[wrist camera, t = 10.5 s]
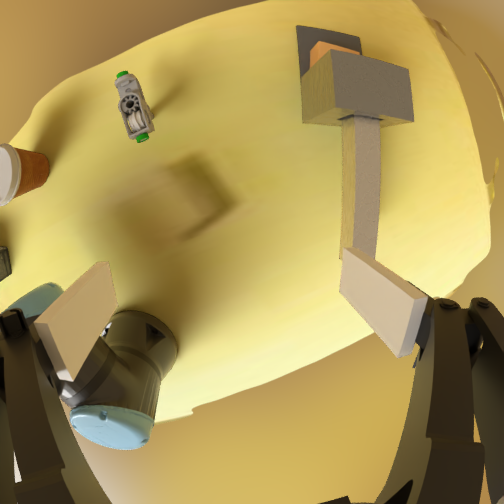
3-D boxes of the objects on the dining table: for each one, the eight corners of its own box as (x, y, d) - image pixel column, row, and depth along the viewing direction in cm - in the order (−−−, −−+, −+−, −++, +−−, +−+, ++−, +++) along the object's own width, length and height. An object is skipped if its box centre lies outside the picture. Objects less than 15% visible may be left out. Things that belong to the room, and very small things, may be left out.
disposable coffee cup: (59, 188, 37) (18, 197, 25) (25, 202, 36) (-15, 214, 25) (53, 137, 34) (11, 133, 22) (18, 155, 33) (-22, 157, 22)
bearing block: (367, 129, 40) (414, 122, 28) (302, 123, 39) (335, 107, 26) (365, 88, 38) (408, 69, 25) (300, 78, 36) (330, 48, 24)
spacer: (348, 79, 37) (360, 72, 32) (309, 70, 36) (318, 61, 32) (348, 60, 35) (359, 52, 31) (310, 50, 35) (318, 40, 30)
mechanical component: (148, 87, 34) (130, 66, 25) (167, 141, 37) (152, 134, 28) (132, 94, 34) (109, 77, 25) (150, 149, 37) (130, 144, 28)
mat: (365, 93, 38) (366, 92, 38) (300, 83, 37) (301, 83, 36) (358, 38, 34) (359, 37, 34) (296, 26, 33) (296, 25, 33)
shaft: (361, 256, 40) (374, 265, 36) (339, 258, 40) (350, 267, 36) (362, 90, 32) (376, 84, 29) (339, 86, 32) (351, 79, 28)
